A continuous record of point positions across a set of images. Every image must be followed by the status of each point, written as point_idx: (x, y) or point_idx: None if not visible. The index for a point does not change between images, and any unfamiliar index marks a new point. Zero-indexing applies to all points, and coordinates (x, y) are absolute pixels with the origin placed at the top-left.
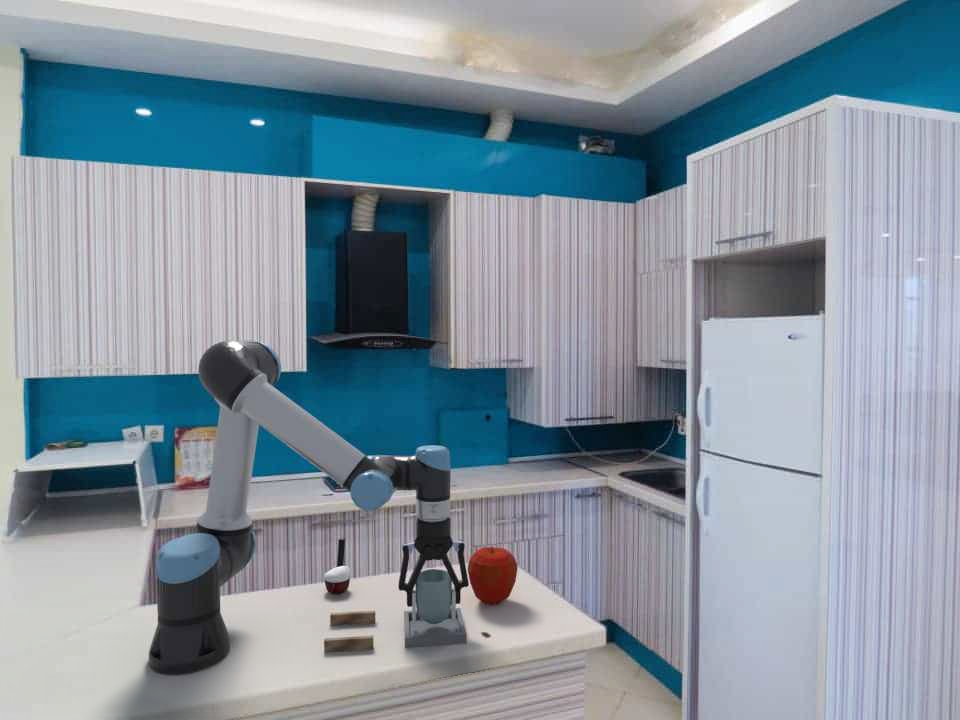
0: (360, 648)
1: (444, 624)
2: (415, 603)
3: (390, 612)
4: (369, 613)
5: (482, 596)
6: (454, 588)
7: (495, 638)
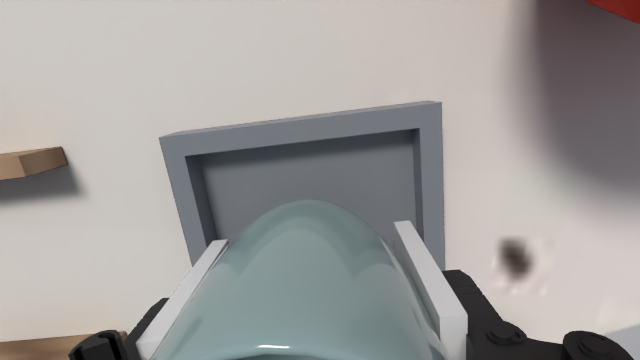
0: None
1: (357, 201)
2: None
3: (95, 52)
4: (3, 177)
5: (602, 8)
6: (464, 348)
7: (545, 287)
